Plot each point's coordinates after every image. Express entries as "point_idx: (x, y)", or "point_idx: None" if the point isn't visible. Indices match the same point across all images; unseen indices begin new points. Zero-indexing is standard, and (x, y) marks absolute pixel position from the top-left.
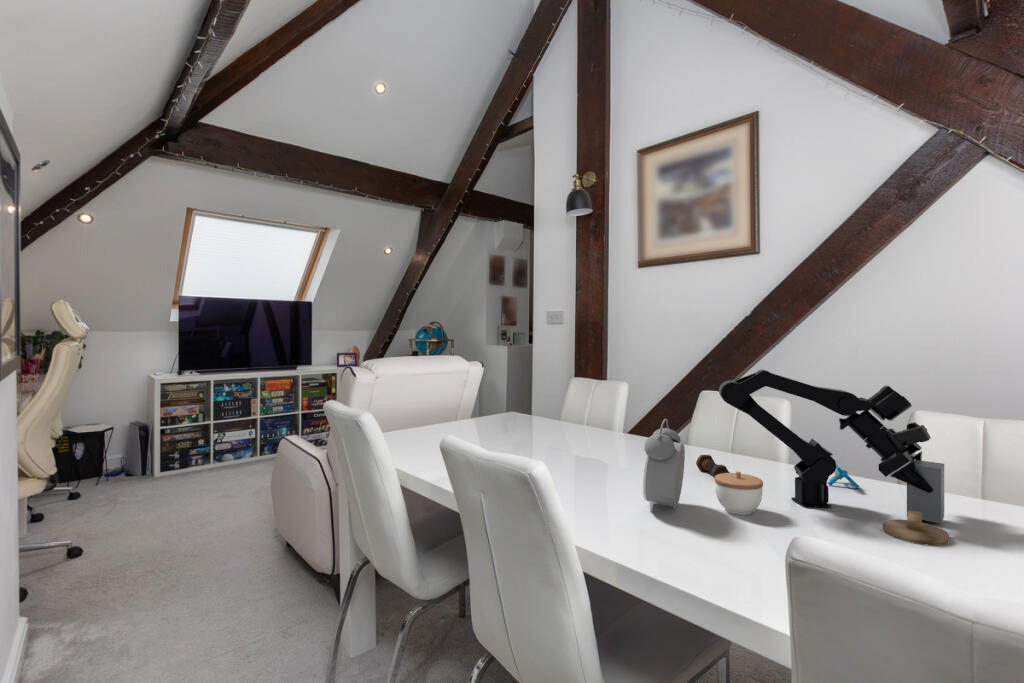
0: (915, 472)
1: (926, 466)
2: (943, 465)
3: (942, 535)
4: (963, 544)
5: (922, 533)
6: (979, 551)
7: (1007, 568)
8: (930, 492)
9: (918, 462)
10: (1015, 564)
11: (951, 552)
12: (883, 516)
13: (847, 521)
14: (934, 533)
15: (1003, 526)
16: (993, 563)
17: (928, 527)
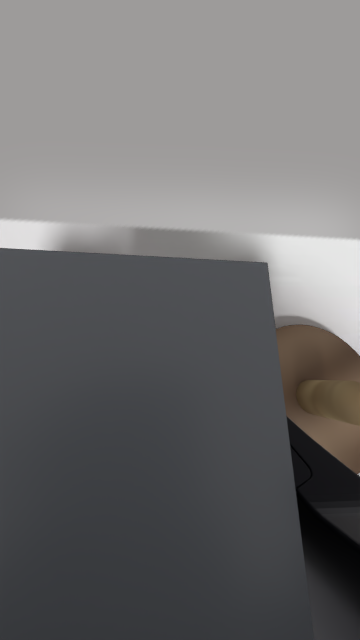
0: (348, 478)
1: (270, 398)
2: (45, 252)
3: (308, 336)
4: (282, 304)
5: (333, 375)
6: (301, 280)
7: (352, 247)
8: None
9: (44, 547)
10: (321, 237)
11: (353, 320)
12: None
13: None
14: (308, 352)
15: (78, 241)
16: (347, 263)
17: None
